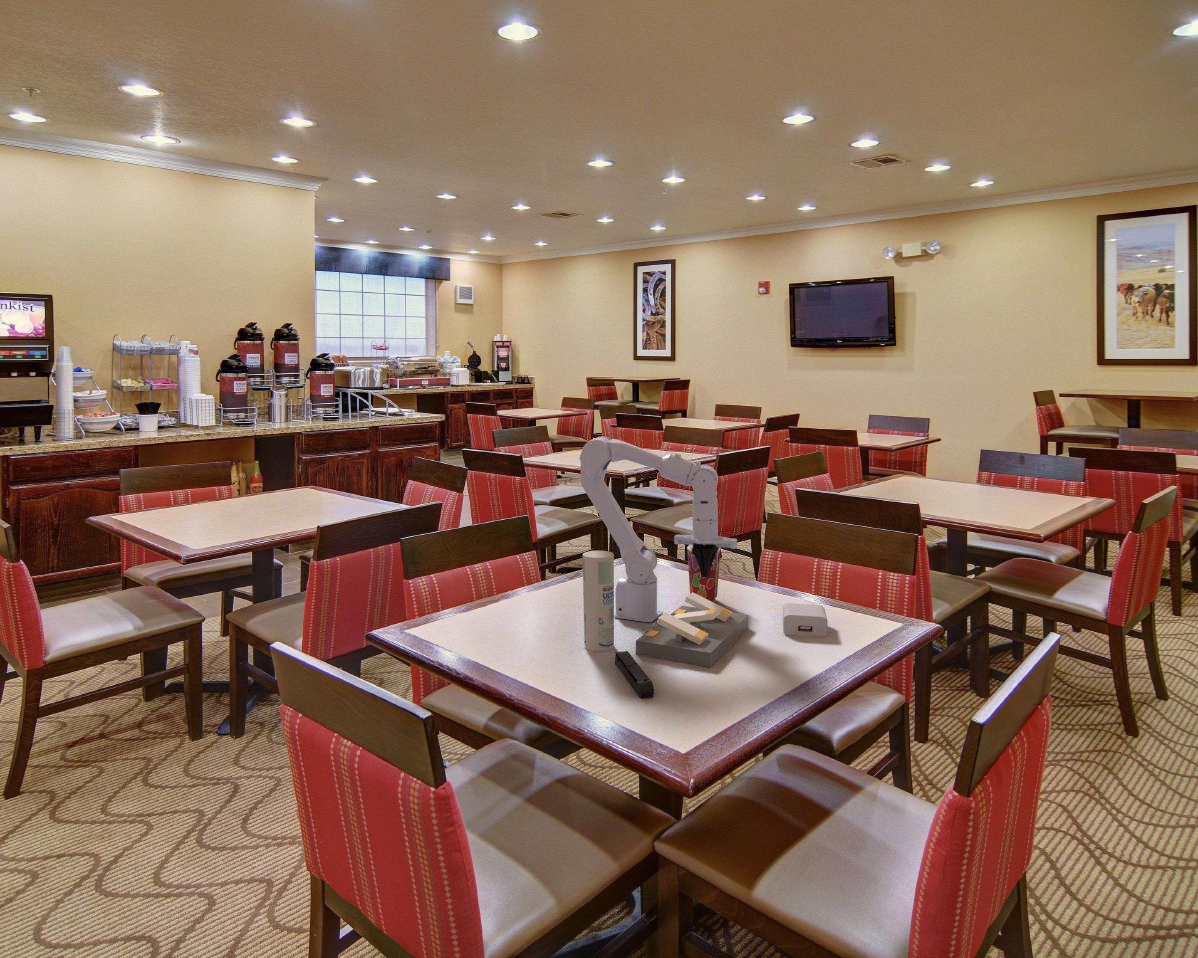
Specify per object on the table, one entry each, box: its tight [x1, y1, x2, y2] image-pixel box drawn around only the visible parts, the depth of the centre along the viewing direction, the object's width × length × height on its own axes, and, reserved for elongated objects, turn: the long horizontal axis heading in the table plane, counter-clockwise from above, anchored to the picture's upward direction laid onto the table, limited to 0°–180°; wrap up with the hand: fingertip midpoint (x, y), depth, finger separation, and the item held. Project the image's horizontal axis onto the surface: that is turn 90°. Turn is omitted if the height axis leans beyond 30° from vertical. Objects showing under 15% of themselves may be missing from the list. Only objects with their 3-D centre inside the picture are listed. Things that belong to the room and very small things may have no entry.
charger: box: [782, 602, 829, 638], centre depth 172 cm, size 5×9×15 cm
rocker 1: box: [656, 611, 708, 645], centre depth 155 cm, size 10×4×1 cm, turn 64°
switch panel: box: [635, 605, 750, 668], centre depth 162 cm, size 16×26×4 cm, turn 153°
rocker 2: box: [674, 609, 719, 623], centre depth 162 cm, size 10×4×1 cm, turn 62°
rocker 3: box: [684, 592, 733, 622], centre depth 169 cm, size 10×4×1 cm, turn 64°
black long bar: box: [614, 650, 655, 699], centre depth 142 cm, size 18×3×3 cm, turn 14°
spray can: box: [582, 550, 615, 652], centre depth 159 cm, size 6×6×20 cm
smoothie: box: [686, 544, 722, 603], centre depth 190 cm, size 8×8×20 cm
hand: (705, 576), depth 175 cm, fingers closed
